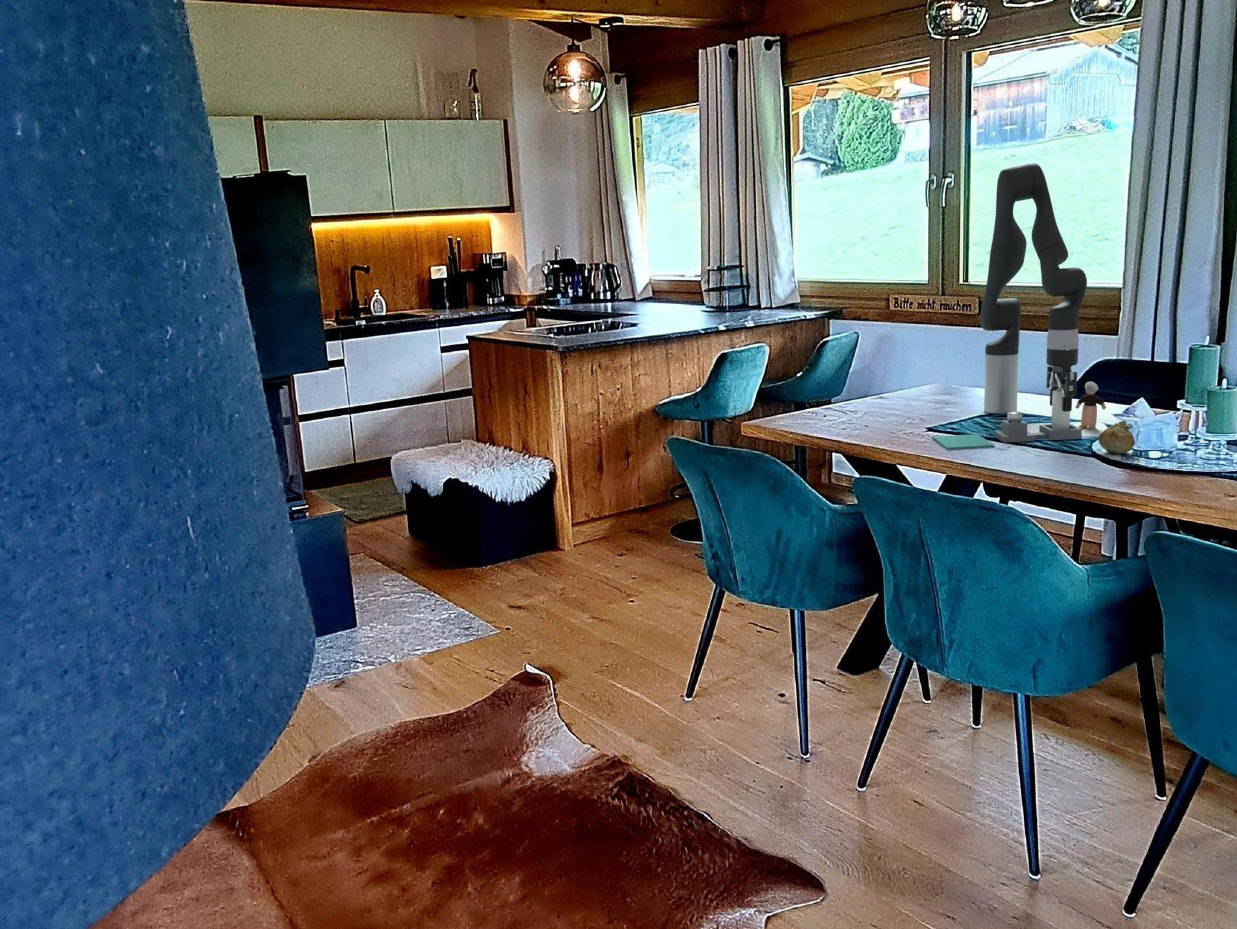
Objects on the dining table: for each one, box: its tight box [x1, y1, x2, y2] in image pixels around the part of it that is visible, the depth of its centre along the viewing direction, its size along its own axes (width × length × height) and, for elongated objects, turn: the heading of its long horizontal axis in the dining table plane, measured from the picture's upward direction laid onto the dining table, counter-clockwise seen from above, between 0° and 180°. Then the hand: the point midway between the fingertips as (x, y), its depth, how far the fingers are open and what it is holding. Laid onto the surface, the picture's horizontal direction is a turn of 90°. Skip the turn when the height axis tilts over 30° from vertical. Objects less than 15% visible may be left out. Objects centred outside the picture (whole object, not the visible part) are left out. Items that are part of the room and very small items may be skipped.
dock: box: [993, 419, 1083, 443], centre depth 281 cm, size 8×20×4 cm, turn 89°
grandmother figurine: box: [1075, 381, 1107, 430], centre depth 287 cm, size 8×4×13 cm, turn 62°
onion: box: [1098, 420, 1136, 455], centre depth 259 cm, size 8×8×8 cm
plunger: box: [1006, 411, 1023, 423], centre depth 281 cm, size 4×4×4 cm
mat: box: [932, 433, 996, 451], centre depth 280 cm, size 14×12×1 cm
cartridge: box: [1050, 388, 1071, 430], centre depth 280 cm, size 4×4×13 cm
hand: (1060, 408), depth 279 cm, fingers open, 8 cm apart
